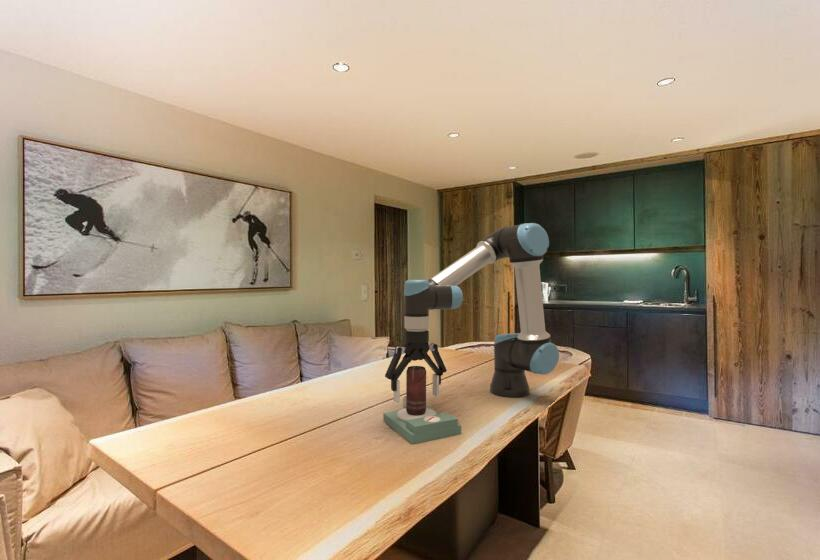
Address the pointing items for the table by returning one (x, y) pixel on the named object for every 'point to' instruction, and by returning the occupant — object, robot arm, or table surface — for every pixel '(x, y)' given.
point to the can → (416, 390)
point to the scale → (422, 425)
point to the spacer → (404, 402)
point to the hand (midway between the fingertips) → (416, 398)
